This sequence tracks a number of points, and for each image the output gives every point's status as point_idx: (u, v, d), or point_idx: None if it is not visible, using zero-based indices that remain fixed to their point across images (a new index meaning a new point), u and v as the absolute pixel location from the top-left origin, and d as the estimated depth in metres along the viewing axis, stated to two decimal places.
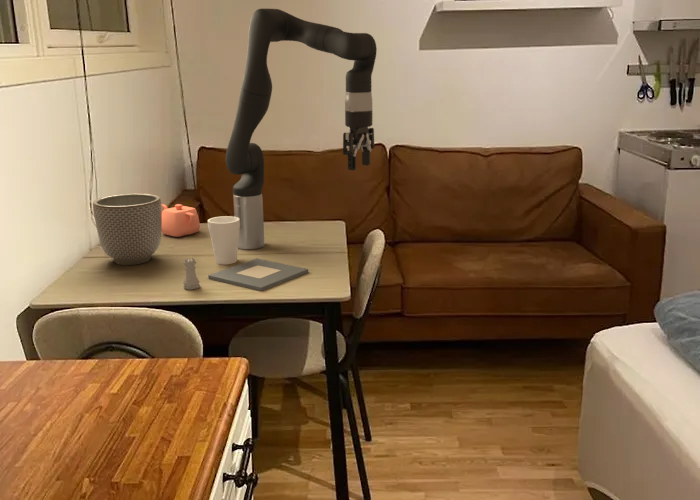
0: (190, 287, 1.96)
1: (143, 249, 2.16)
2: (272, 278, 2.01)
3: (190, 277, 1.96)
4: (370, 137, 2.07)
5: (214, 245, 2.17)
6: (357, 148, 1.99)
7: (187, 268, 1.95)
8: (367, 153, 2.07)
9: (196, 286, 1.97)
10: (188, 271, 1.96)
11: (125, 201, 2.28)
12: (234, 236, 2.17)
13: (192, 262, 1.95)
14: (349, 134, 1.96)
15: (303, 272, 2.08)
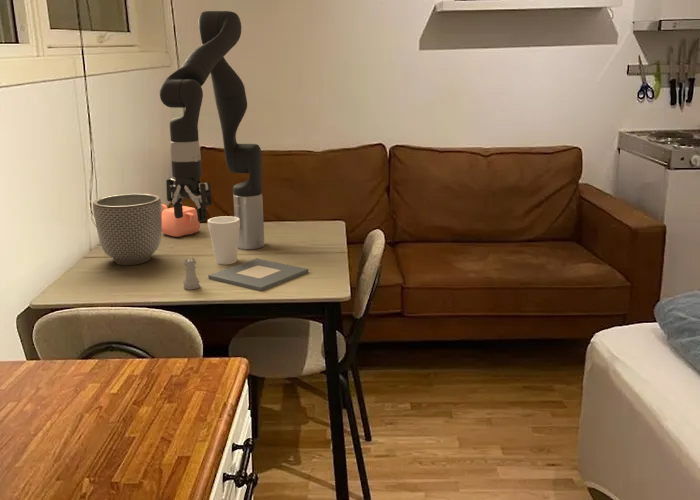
0: (190, 287, 1.96)
1: (143, 249, 2.16)
2: (272, 278, 2.01)
3: (190, 277, 1.96)
4: (175, 188, 1.95)
5: (214, 245, 2.17)
6: None
7: (187, 268, 1.95)
8: (180, 205, 1.95)
9: (196, 286, 1.97)
10: (188, 271, 1.96)
11: (125, 201, 2.28)
12: (234, 236, 2.17)
13: (192, 262, 1.95)
14: (208, 184, 1.87)
15: (303, 272, 2.08)
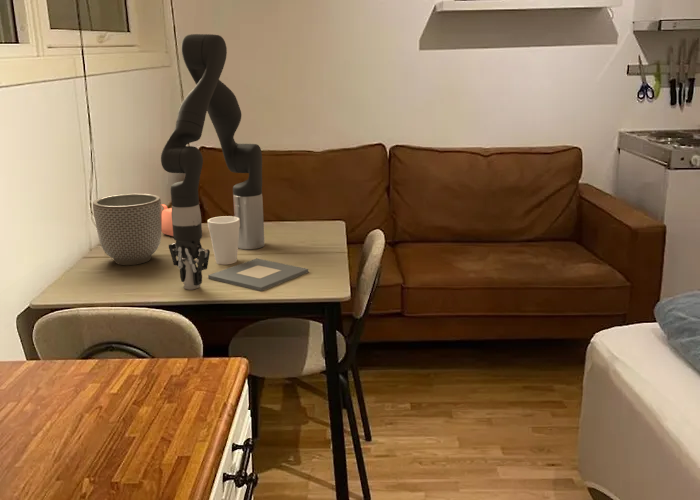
0: (190, 287, 1.96)
1: (143, 249, 2.16)
2: (272, 278, 2.01)
3: (190, 277, 1.96)
4: (178, 251, 1.99)
5: (214, 245, 2.17)
6: None
7: (187, 268, 1.95)
8: None
9: (196, 286, 1.97)
10: (188, 271, 1.96)
11: (125, 201, 2.28)
12: (234, 236, 2.17)
13: None
14: (208, 252, 1.92)
15: (303, 272, 2.08)
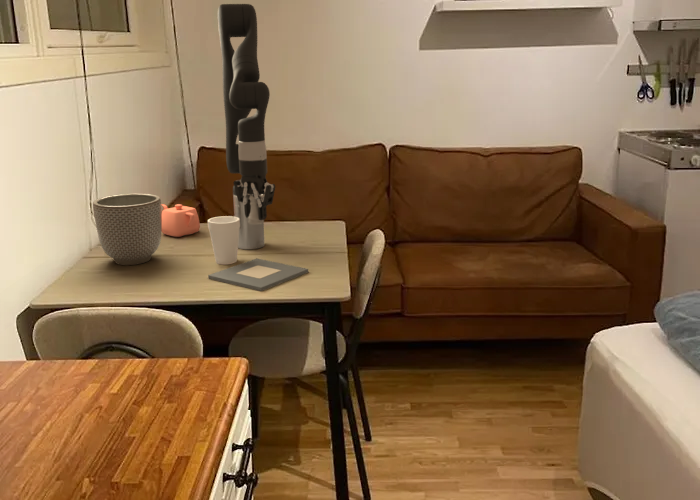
0: (255, 222, 2.01)
1: (143, 249, 2.16)
2: (272, 278, 2.01)
3: (255, 212, 2.01)
4: (243, 188, 2.04)
5: (214, 245, 2.17)
6: None
7: (252, 203, 2.01)
8: None
9: (260, 221, 2.02)
10: (253, 206, 2.01)
11: (125, 201, 2.28)
12: (234, 236, 2.17)
13: None
14: (273, 186, 1.97)
15: (303, 272, 2.08)
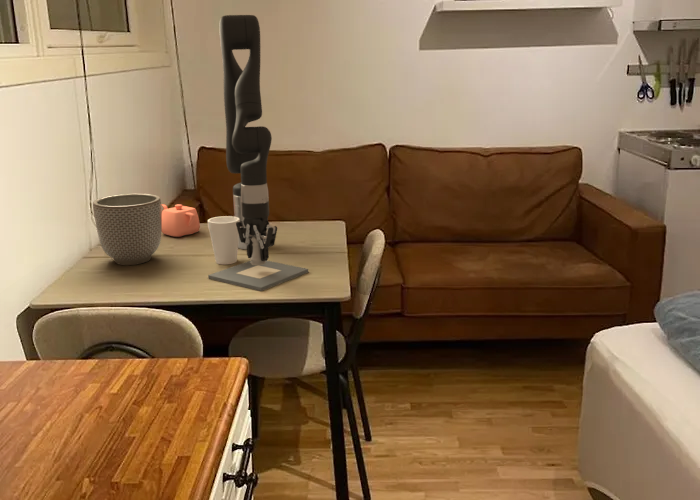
0: (257, 263, 2.04)
1: (143, 249, 2.16)
2: (272, 278, 2.01)
3: (257, 253, 2.04)
4: (245, 229, 2.07)
5: (214, 245, 2.17)
6: None
7: (254, 244, 2.04)
8: None
9: (262, 262, 2.05)
10: (255, 247, 2.04)
11: (125, 201, 2.28)
12: (234, 236, 2.17)
13: None
14: (275, 228, 2.00)
15: (303, 272, 2.08)
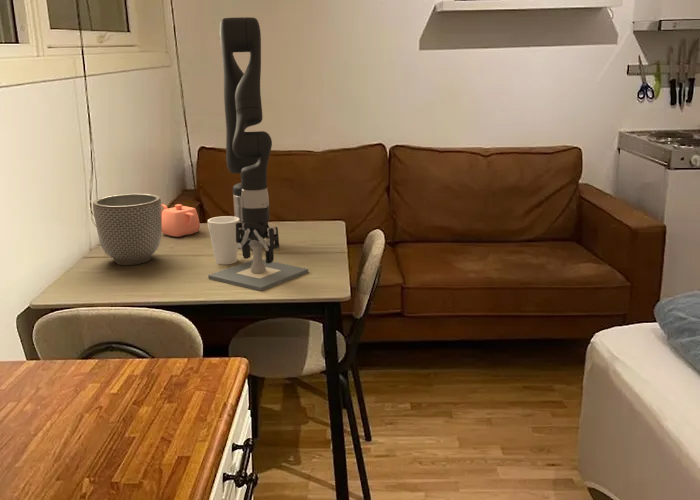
0: (257, 271, 2.05)
1: (143, 249, 2.16)
2: (272, 278, 2.01)
3: (257, 261, 2.05)
4: (243, 230, 2.08)
5: (214, 245, 2.17)
6: None
7: (254, 253, 2.05)
8: (248, 246, 2.08)
9: (263, 270, 2.06)
10: (255, 256, 2.05)
11: (125, 201, 2.28)
12: (234, 236, 2.17)
13: (259, 247, 2.04)
14: (276, 228, 2.00)
15: (303, 272, 2.08)
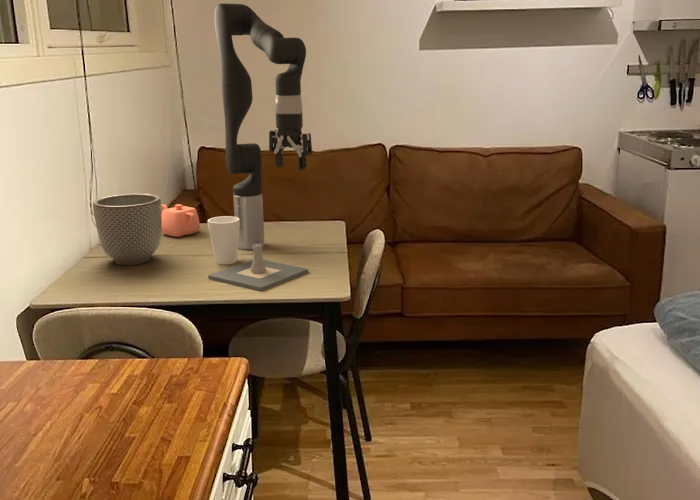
0: (257, 271, 2.05)
1: (143, 249, 2.16)
2: (272, 278, 2.01)
3: (257, 261, 2.05)
4: (276, 139, 2.12)
5: (214, 245, 2.17)
6: None
7: (255, 253, 2.05)
8: (281, 154, 2.12)
9: (263, 270, 2.06)
10: (256, 255, 2.05)
11: (125, 201, 2.28)
12: (234, 236, 2.17)
13: (260, 247, 2.04)
14: (309, 134, 2.04)
15: (303, 272, 2.08)
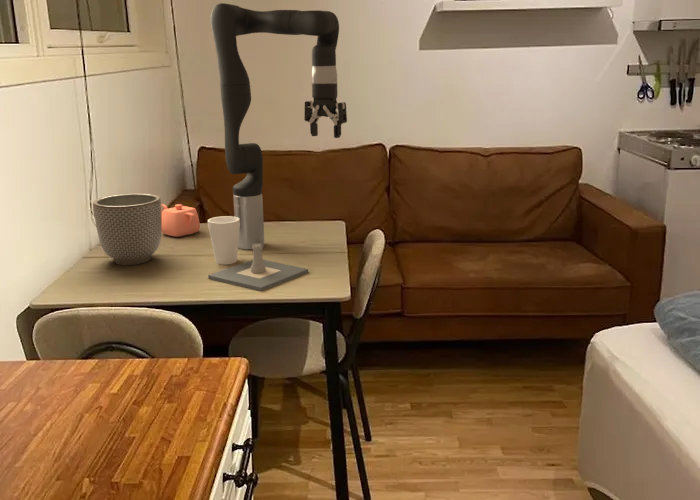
0: (257, 271, 2.05)
1: (143, 249, 2.16)
2: (272, 278, 2.01)
3: (257, 261, 2.05)
4: (311, 109, 2.22)
5: (214, 245, 2.17)
6: None
7: (255, 253, 2.05)
8: (316, 124, 2.22)
9: (263, 270, 2.06)
10: (256, 256, 2.05)
11: (125, 201, 2.28)
12: (234, 236, 2.17)
13: (260, 247, 2.04)
14: (344, 103, 2.14)
15: (303, 272, 2.08)
